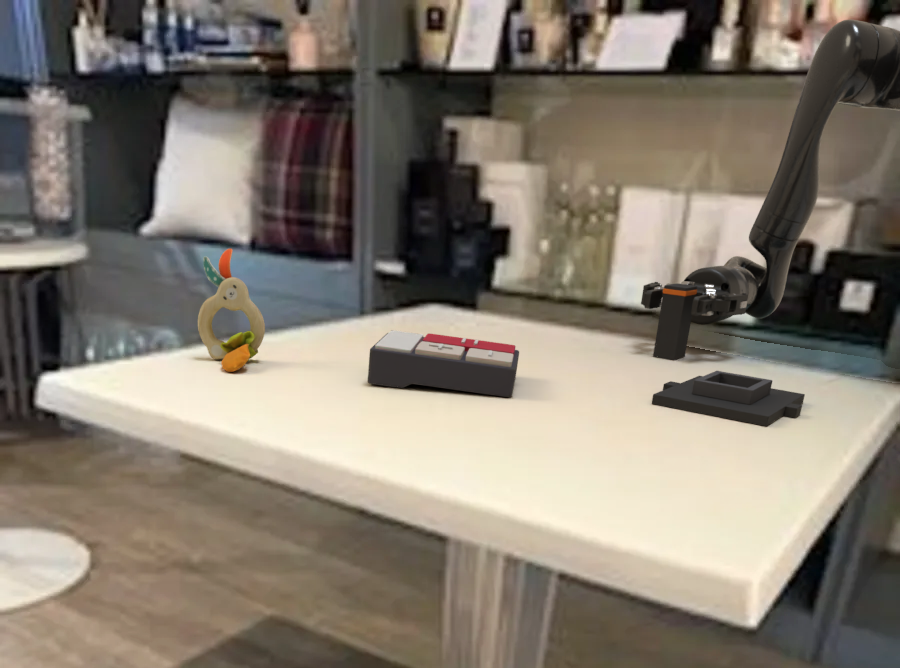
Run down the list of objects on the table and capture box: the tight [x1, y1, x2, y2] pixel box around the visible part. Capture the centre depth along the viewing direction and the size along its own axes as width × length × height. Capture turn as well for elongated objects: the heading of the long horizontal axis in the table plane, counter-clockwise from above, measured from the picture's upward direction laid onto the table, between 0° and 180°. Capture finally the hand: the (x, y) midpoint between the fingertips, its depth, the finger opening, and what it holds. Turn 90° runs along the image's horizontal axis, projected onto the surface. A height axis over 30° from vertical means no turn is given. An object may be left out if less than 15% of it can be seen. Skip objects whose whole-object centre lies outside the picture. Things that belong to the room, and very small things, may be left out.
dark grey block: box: [652, 284, 697, 361], centre depth 115 cm, size 4×3×9 cm
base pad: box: [651, 370, 806, 427], centre depth 93 cm, size 14×14×2 cm
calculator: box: [367, 329, 520, 398], centre depth 94 cm, size 11×4×15 cm
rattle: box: [197, 248, 266, 373], centre depth 93 cm, size 8×8×12 cm
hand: (671, 303), depth 112 cm, fingers open, 5 cm apart
